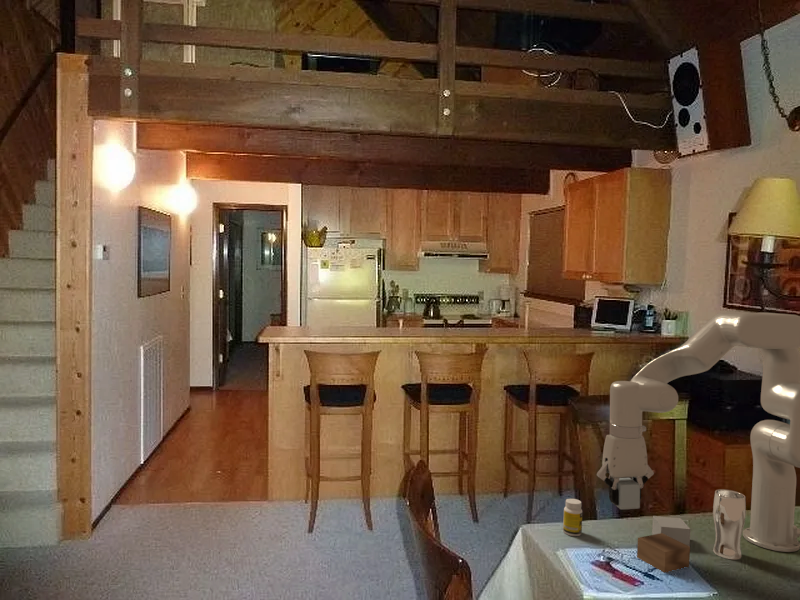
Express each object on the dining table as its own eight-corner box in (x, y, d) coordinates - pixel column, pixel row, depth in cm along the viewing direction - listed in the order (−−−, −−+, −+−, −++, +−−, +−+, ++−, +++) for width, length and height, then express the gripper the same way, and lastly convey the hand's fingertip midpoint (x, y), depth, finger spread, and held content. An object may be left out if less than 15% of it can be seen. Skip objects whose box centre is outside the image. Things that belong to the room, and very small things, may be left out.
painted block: (629, 500, 148) (629, 477, 148) (639, 508, 143) (639, 484, 143) (610, 501, 148) (610, 478, 147) (620, 509, 143) (620, 485, 142)
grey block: (679, 537, 153) (680, 518, 152) (689, 548, 146) (690, 529, 146) (652, 534, 154) (652, 515, 153) (660, 546, 147) (661, 526, 146)
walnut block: (660, 553, 143) (661, 533, 143) (689, 567, 135) (690, 546, 135) (636, 558, 139) (637, 537, 139) (664, 573, 132) (665, 552, 132)
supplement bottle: (582, 537, 150) (583, 505, 149) (563, 535, 150) (564, 503, 150) (580, 530, 154) (581, 498, 154) (562, 528, 155) (563, 497, 155)
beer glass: (739, 550, 145) (742, 491, 145) (746, 563, 139) (749, 501, 138) (708, 545, 147) (711, 487, 147) (713, 557, 141) (716, 496, 140)
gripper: (649, 426, 150) (648, 495, 150) (586, 428, 148) (586, 499, 148) (666, 433, 142) (665, 506, 143) (600, 436, 140) (600, 510, 141)
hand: (625, 502), depth 145 cm, fingers closed on painted block, 5 cm apart
